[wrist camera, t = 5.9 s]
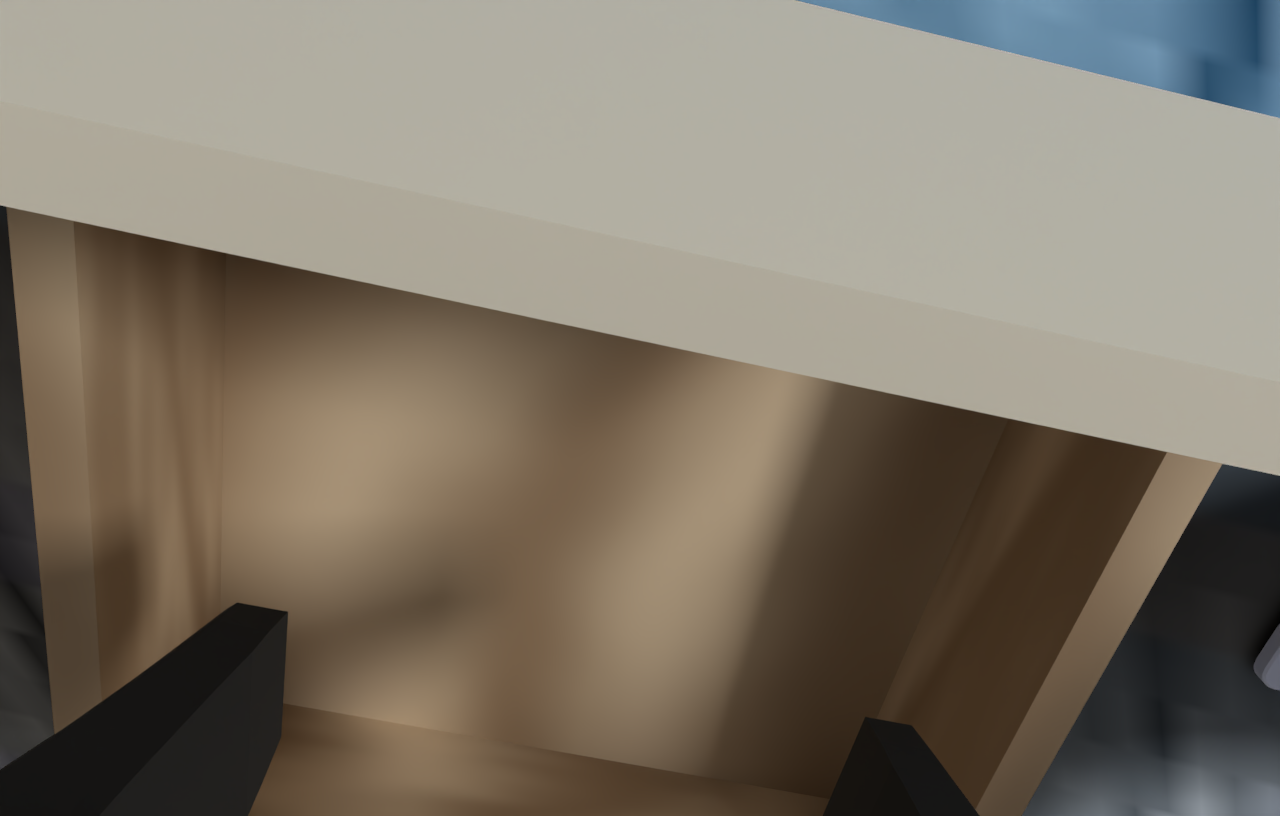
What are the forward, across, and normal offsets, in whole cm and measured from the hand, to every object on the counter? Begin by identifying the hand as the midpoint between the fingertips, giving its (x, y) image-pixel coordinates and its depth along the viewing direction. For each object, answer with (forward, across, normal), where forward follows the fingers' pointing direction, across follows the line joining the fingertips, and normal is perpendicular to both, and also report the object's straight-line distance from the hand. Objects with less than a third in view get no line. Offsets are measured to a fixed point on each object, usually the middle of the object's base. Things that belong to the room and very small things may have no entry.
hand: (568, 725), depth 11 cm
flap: (0, 0, -7) cm, 7 cm away
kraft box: (+7, 0, 0) cm, 7 cm away
